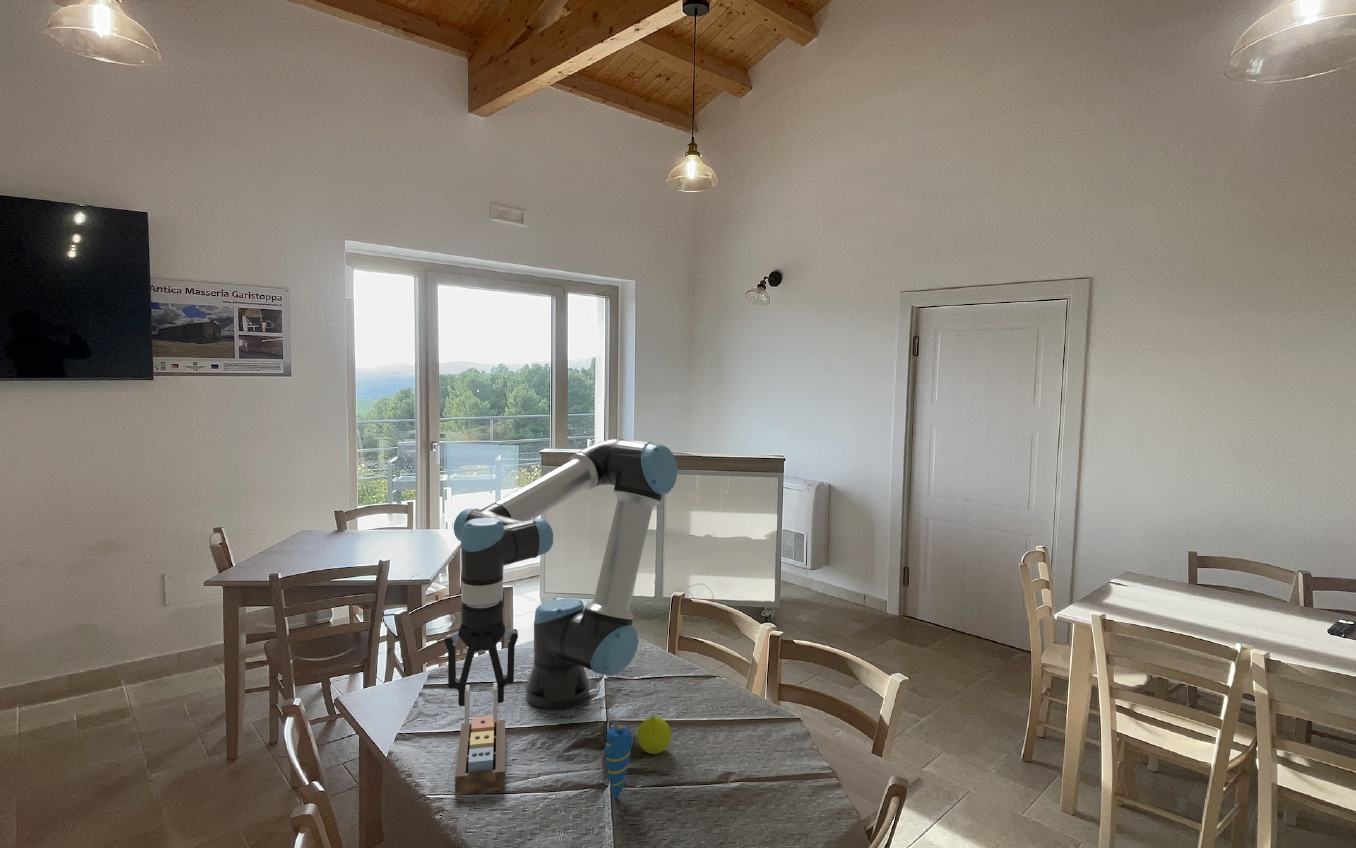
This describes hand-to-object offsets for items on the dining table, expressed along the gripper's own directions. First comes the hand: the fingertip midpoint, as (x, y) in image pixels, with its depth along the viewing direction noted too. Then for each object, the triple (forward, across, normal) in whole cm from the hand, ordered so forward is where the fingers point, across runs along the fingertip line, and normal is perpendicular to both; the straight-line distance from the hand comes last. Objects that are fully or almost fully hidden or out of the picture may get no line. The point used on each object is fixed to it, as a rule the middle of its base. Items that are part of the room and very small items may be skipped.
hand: (481, 719), depth 131 cm
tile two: (+10, 0, -6) cm, 12 cm away
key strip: (+13, 0, -6) cm, 14 cm away
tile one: (+10, 0, -12) cm, 16 cm away
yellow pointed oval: (+13, -35, -4) cm, 38 cm away
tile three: (+10, 0, 0) cm, 10 cm away
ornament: (+13, -25, +10) cm, 30 cm away
